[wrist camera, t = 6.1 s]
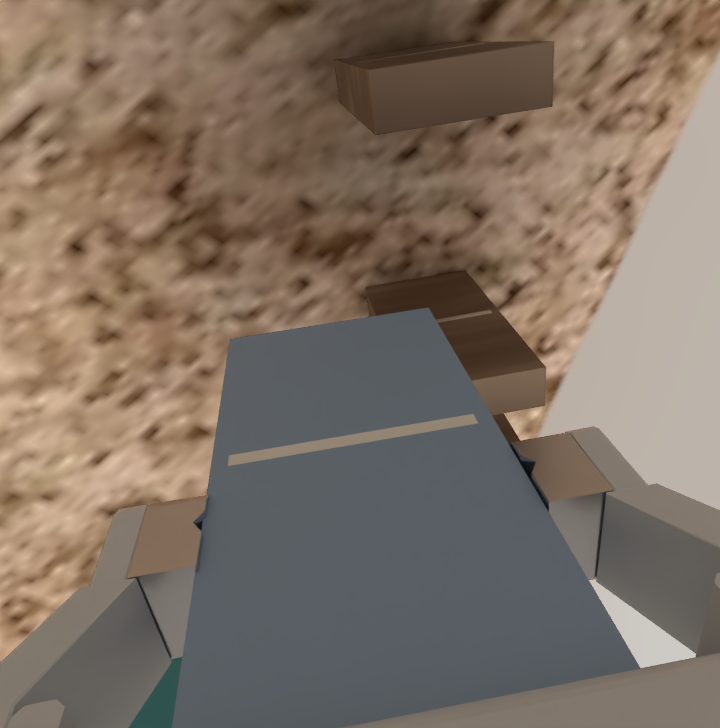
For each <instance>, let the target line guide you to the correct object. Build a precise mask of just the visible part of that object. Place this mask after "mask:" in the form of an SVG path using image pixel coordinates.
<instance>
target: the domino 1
mask: <svg viewBox="0 0 720 728" xmlns="http://www.w3.org/2000/svg"><path fill="white" fill-rule="evenodd" d="M553 59H554V42H449V43H442V44H436V45H429V46H423V47H417V48H410V49H404V50H397V51H391V52H384V53H378V54H371V55H365V56H358V57H352V58H345V59H339V60H334V63H335V70H336V77H337V85H338V92H339V99H340V103H341V104H342V105H343V106H344V107H345V108H346V109H348V110H349V111H350V112H351V113H352V114H353V115H354V116H355V117H356V118H357V119H359V120H360V121H361V122H362V123H363V124H364V125H365V126H366V127H367V128H368V129H370V130H371V131H372V132H373V133H374V134H375V135H379V134H385V133H391V132H397V131H404V130H410V129H416V128H422V127H428V126H434V125H441V124H447V123H453V122H459V121H465V120H472V119H478V118H484V117H490V116H496V115H503V114H509V113H515V112H521V111H527V110H534V109H540V108H546V107H552V101H553Z"/></svg>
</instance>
